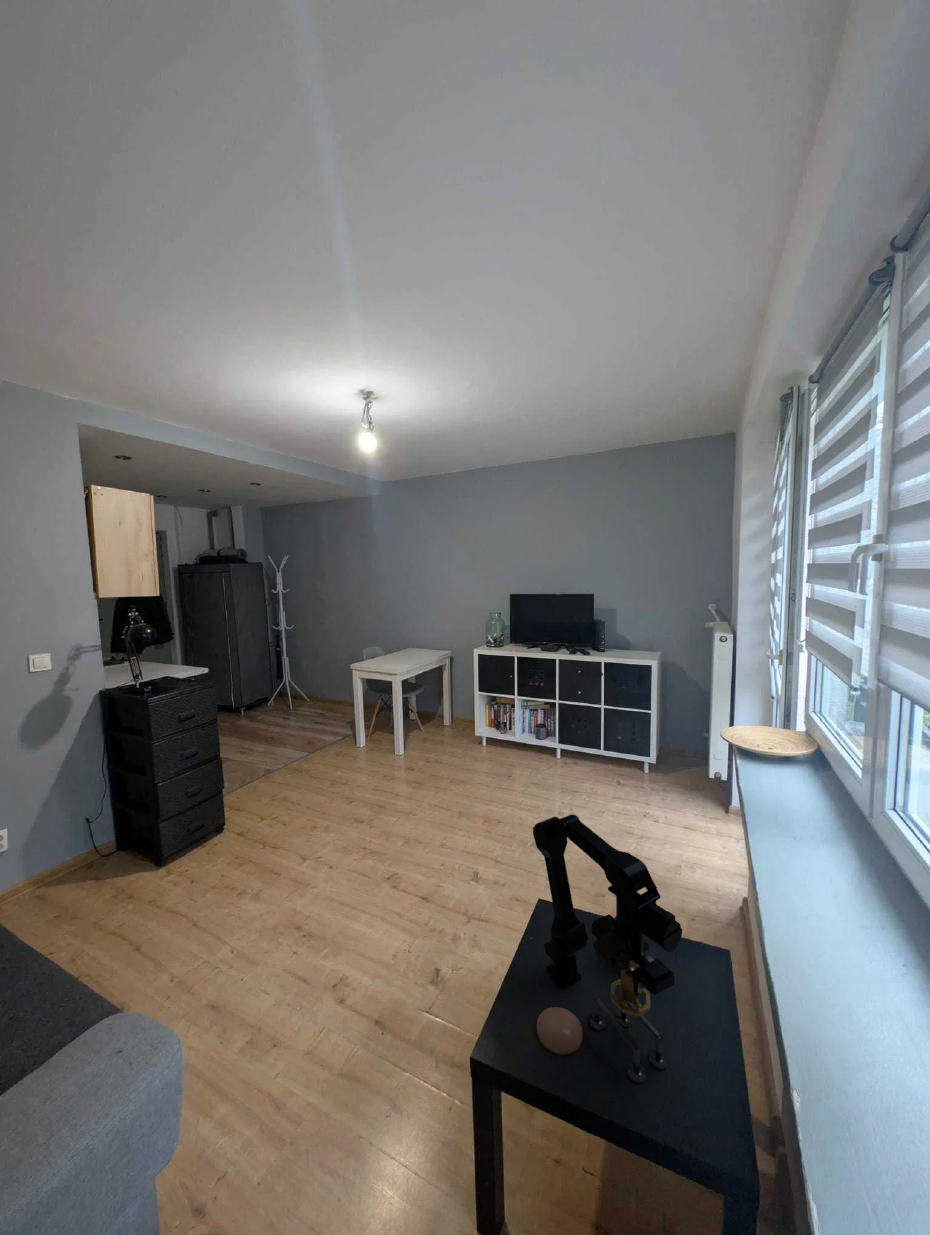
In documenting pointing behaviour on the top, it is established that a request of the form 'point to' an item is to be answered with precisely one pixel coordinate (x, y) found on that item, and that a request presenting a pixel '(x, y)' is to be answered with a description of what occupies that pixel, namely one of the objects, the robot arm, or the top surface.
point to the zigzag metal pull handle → (631, 1039)
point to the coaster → (559, 1030)
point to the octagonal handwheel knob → (629, 993)
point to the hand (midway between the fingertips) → (630, 987)
